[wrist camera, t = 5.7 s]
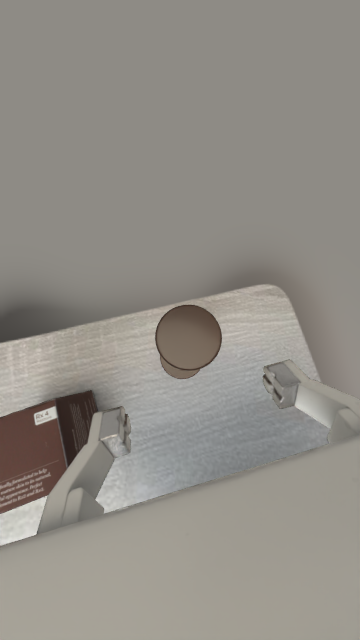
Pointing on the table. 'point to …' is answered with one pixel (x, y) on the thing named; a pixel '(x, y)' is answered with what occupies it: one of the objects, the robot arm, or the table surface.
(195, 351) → the brown cylindrical post
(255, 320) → the table surface
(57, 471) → the box
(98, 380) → the table surface
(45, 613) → the robot arm
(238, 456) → the table surface
